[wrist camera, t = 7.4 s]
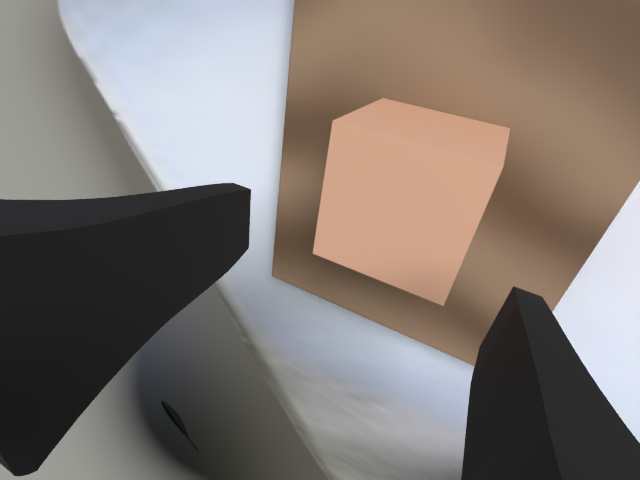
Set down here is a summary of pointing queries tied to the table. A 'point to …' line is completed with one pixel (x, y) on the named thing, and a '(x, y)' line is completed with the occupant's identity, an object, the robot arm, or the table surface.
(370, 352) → the table surface
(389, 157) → the terracotta block
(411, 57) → the walnut base
